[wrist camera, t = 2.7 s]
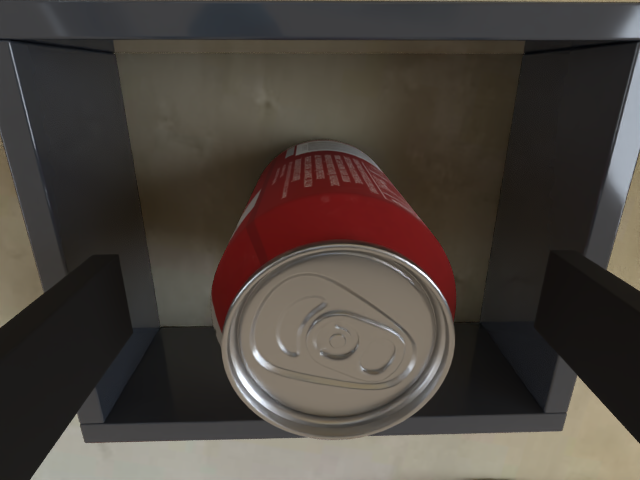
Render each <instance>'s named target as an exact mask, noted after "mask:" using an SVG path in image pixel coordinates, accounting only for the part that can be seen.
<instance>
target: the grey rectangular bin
mask: <svg viewBox="0 0 640 480" xmlns="http://www.w3.org/2000/svg"><path fill="white" fill-rule="evenodd" d="M114 53H373V54H524V55H523V58H522V64H521V70H520V77H519V83H518V89H517V95H516V101H515V107H514V113H513V119H512V126H511V132H510V138H509V144H508V150H507V156H506V162H505V169H504V175H503V181H502V187H501V193H500V199H499V205H498V212H497V218H496V224H495V230H494V236H493V242H492V248H491V255H490V261H489V267H488V273H487V279H486V285H485V291H484V297H483V304H482V310H481V316H480V322H458V323H454V330H455V347H454V354H453V358H452V362H451V365H450V368H449V371H448V373H447V375H446V377H445V379H444V381H443V383H442V384H441V386H440V387H439V389H438V390H437V392H436V393H435V394H434V395H433V397H432V398H431V399H430V400H429V401H428V402H427V403H426V404H425V405H424V406H423V407H422V408H421V409H420V410H418V411H417V412H416V413H415V414H413V415H412V416H411V417H409V418H407V419H406V420H404V421H403V422H401V423H399V424H397V425H395V426H393V427H391V428H389V429H386V430H384V431H381V432H378V433H375V434H372V435H368V436H389V435H430V434H471V433H512V432H553V431H562V430H563V426H564V423H565V419H566V416H567V413H566V412H567V411H568V407H569V404H570V400H571V396H572V393H573V389H574V386H575V382H576V378H577V374H576V373H575V372H574V371H573V370H572V369H571V368H570V367H569V366H568V364H567V363H566V362H565V361H564V360H563V359H562V358H561V357H560V356H559V355H558V354H557V352H556V351H555V350H554V349H553V348H552V347H551V346H550V345H549V344H548V343H547V341H546V340H545V339H544V338H543V337H542V336H541V335H540V334H539V333H538V332H537V331H536V329H535V328H534V323H535V318H536V313H537V309H538V304H539V299H540V295H541V290H542V285H543V281H544V276H545V271H546V266H547V262H548V257H549V252H550V250H575V251H577V252H579V253H580V254H582V255H583V256H585V257H586V258H588V259H590V260H591V261H593V262H594V263H596V264H598V265H599V266H601V267H602V268H604V269H605V270H607V267H608V263H609V260H610V256H611V253H612V249H613V245H614V242H615V238H616V235H617V231H618V227H619V224H620V220H621V217H622V213H623V210H624V206H625V202H626V199H627V195H628V192H629V188H630V184H631V181H632V177H633V174H634V170H635V166H636V163H637V159H638V156H639V152H640V2H508V1H297V0H0V135H1V138H2V142H3V146H4V149H5V153H6V157H7V160H8V164H9V168H10V171H11V175H12V178H13V182H14V186H15V189H16V193H17V197H18V200H19V204H20V208H21V211H22V215H23V218H24V222H25V226H26V229H27V233H28V237H29V240H30V244H31V248H32V251H33V255H34V258H35V262H36V266H37V269H38V273H39V277H40V280H41V284H42V288H43V291H44V293H45V292H46V291H48V290H49V289H50V288H51V287H53V286H54V285H55V284H56V283H58V282H59V281H60V280H61V279H63V278H64V277H65V276H66V275H68V274H69V273H70V272H71V271H73V270H74V269H75V268H76V267H78V266H79V265H80V264H82V263H83V262H84V261H85V260H87V259H88V258H89V257H90V256H92V255H102V254H119V260H120V265H121V270H122V276H123V281H124V286H125V291H126V297H127V302H128V307H129V313H130V318H131V323H132V328H133V334H132V335H131V337H130V338H129V340H128V341H127V342H126V344H125V345H124V347H123V348H122V350H121V351H120V352H119V354H118V355H117V357H116V358H115V359H114V361H113V362H112V364H111V365H110V367H109V368H108V369H107V371H106V372H105V374H104V375H103V377H102V378H101V379H100V381H99V382H98V384H97V385H96V386H95V388H94V389H93V391H92V392H91V394H90V395H89V396H88V398H87V399H86V401H85V402H84V404H83V405H82V406H81V408H80V409H79V411H78V412H77V415H78V418H79V422H80V423H81V424H80V427H81V431H82V435H83V438H84V442H85V443H103V442H144V441H185V440H226V439H267V438H308V437H304V436H300V435H296V434H293V433H290V432H287V431H285V430H282V429H280V428H278V427H276V426H274V425H272V424H270V423H268V422H267V421H265V420H263V419H262V418H261V417H259V416H258V415H256V414H255V413H254V412H253V411H252V410H251V409H250V408H249V407H248V406H247V405H246V404H245V403H244V402H243V401H242V400H241V399H240V397H239V396H238V395H237V393H236V392H235V390H234V388H233V387H232V385H231V383H230V381H229V379H228V377H227V374H226V371H225V368H224V364H223V359H222V350H221V346H220V344H219V342H218V339H217V336H216V333H215V331H214V327H163V328H160V322H159V316H158V309H157V303H156V297H155V291H154V285H153V279H152V273H151V267H150V261H149V255H148V249H147V243H146V237H145V231H144V225H143V219H142V212H141V206H140V200H139V194H138V188H137V182H136V176H135V170H134V164H133V158H132V152H131V146H130V140H129V134H128V128H127V121H126V115H125V109H124V103H123V97H122V91H121V85H120V79H119V73H118V67H117V61H116V55H115V54H114Z"/></svg>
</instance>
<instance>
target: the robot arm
mask: <svg viewBox="0 0 640 480" xmlns="http://www.w3.org/2000/svg"><path fill="white" fill-rule="evenodd" d="M534 328H535V329H536V331H537V332H538V333H539V334H540V335H541V336H542V337H543V338H544V339H545V340H546V341H547V343H548V344H549V345H550V346H551V347H552V348H553V349H554V350H555V351H556V352H557V354H558V355H559V356H560V357H561V358H562V359H563V360H564V361H565V362H566V363H567V364H568V366H569V367H570V368H571V369H572V370H573V371H574V372H575V373H576V374H577V375H578V376H579V378H580V379H581V380H582V381H583V382H584V383H585V384H586V385H587V386H588V387H589V389H590V390H591V391H592V392H593V393H594V394H595V395H596V396H597V397H598V398H599V399H600V401H601V402H602V403H603V404H604V405H605V406H606V407H607V408H608V409H609V410H610V412H611V413H612V414H613V415H614V416H615V417H616V418H617V419H618V420H619V421H620V422H621V424H622V425H623V426H624V427H625V428H626V429H627V430H628V431H629V432H630V433H631V435H632V436H633V437H634V438H635V439H636V440H637V441H638V442H639V443H640V291H639V290H637V289H635V288H634V287H632V286H631V285H629V284H628V283H626V282H624V281H623V280H621V279H620V278H618V277H616V276H615V275H613V274H612V273H610V272H609V271H607V270H605V269H604V268H602V267H601V266H599V265H598V264H596V263H594V262H593V261H591V260H590V259H588V258H586V257H585V256H583V255H582V254H580V253H579V252H577V251H575V250H550V252H549V257H548V262H547V266H546V271H545V276H544V281H543V285H542V290H541V295H540V299H539V304H538V309H537V313H536V318H535V323H534ZM132 334H133V328H132V323H131V318H130V313H129V307H128V302H127V297H126V291H125V286H124V281H123V276H122V270H121V265H120V260H119V254H102V255H92V256H90V257H89V258H88V259H87V260H85V261H84V262H83V263H82V264H80V265H79V266H78V267H76V268H75V269H74V270H73V271H71V272H70V273H69V274H68V275H66V276H65V277H64V278H63V279H61V280H60V281H59V282H58V283H56V284H55V285H54V286H53V287H51V288H50V289H49V290H48V291H46V292H45V293H44V294H43V295H41V296H40V297H39V298H37V299H36V300H35V301H34V302H32V303H31V304H30V305H29V306H27V307H26V308H25V309H24V310H22V311H21V312H20V313H19V314H17V315H16V316H15V317H14V318H12V319H11V320H10V321H9V322H7V323H6V324H5V325H4V326H2V327H1V328H0V480H30V479H31V477H32V476H33V475H34V473H35V472H36V470H37V469H38V468H39V466H40V465H41V463H42V462H43V460H44V459H45V458H46V456H47V455H48V453H49V452H50V450H51V449H52V448H53V446H54V445H55V443H56V442H57V441H58V439H59V438H60V436H61V435H62V433H63V432H64V431H65V429H66V428H67V426H68V425H69V423H70V422H71V421H72V419H73V418H74V416H75V415H76V414H77V412H78V411H79V409H80V408H81V406H82V405H83V404H84V402H85V401H86V399H87V398H88V396H89V395H90V394H91V392H92V391H93V389H94V388H95V386H96V385H97V384H98V382H99V381H100V379H101V378H102V377H103V375H104V374H105V372H106V371H107V369H108V368H109V367H110V365H111V364H112V362H113V361H114V359H115V358H116V357H117V355H118V354H119V352H120V351H121V350H122V348H123V347H124V345H125V344H126V342H127V341H128V340H129V338H130V337H131V335H132Z"/></svg>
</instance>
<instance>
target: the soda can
mask: <svg viewBox="0 0 640 480" xmlns="http://www.w3.org/2000/svg"><path fill="white" fill-rule="evenodd" d="M455 309H456V286H455V280H454V275H453V271H452V268H451V265H450V262H449V260H448V258H447V256H446V254H445V252H444V250H443V248H442V247H441V245H440V243H439V242H438V240H437V239H436V238H435V236H434V235H433V234H432V232H431V231H430V230H429V229H428V228H427V226H426V225H425V224H424V223H423V221H422V220H421V219H420V218H419V216H418V215H417V214H416V213H415V211H414V210H413V209H412V208H411V206H410V205H409V204H408V203H407V201H406V200H405V199H404V198H403V196H402V195H401V194H400V193H399V191H398V190H397V189H396V188H395V186H394V185H393V184H392V183H391V182H390V180H389V179H388V178H387V177H386V175H385V174H384V173H383V172H382V170H381V169H380V168H379V167H378V165H377V164H376V163H375V162H374V161H373V160H372V159H371V158H370V157H369V156H368V155H367V154H365V153H364V152H362V151H361V150H359V149H358V148H356V147H354V146H352V145H349V144H347V143H343V142H340V141H335V140H326V139H321V140H311V141H306V142H302V143H299V144H296V145H294V146H292V147H290V148H288V149H286V150H284V151H283V152H282V153H280V154H279V155H278V156H276V157H275V158H274V159H273V160H272V161H271V162H270V163H269V164H268V166H267V167H266V168H265V169H264V171H263V173H262V174H261V176H260V178H259V180H258V182H257V184H256V186H255V188H254V191H253V193H252V195H251V197H250V199H249V201H248V203H247V205H246V207H245V210H244V212H243V214H242V216H241V218H240V220H239V222H238V224H237V226H236V229H235V231H234V233H233V235H232V237H231V239H230V241H229V243H228V245H227V248H226V250H225V252H224V254H223V256H222V258H221V260H220V262H219V265H218V268H217V270H216V273H215V276H214V281H213V285H212V292H211V315H212V322H213V326H214V331H215V333H216V336H217V339H218V342H219V344H220V346H221V350H222V359H223V364H224V368H225V371H226V374H227V377H228V379H229V381H230V383H231V385H232V387H233V388H234V390H235V392H236V393H237V395H238V396H239V397H240V399H241V400H242V401H243V402H244V403H245V404H246V405H247V406H248V407H249V408H250V409H251V410H252V411H253V412H254V413H255V414H256V415H258V416H259V417H261V418H262V419H263V420H265V421H267V422H268V423H270V424H272V425H274V426H276V427H278V428H280V429H282V430H285V431H287V432H290V433H293V434H296V435H300V436H304V437H309V438H315V439H324V440H344V439H353V438H359V437H364V436H368V435H372V434H375V433H378V432H381V431H384V430H386V429H389V428H391V427H393V426H395V425H397V424H399V423H401V422H403V421H404V420H406V419H407V418H409V417H411V416H412V415H413V414H415V413H416V412H417V411H418V410H420V409H421V408H422V407H423V406H424V405H425V404H426V403H427V402H428V401H429V400H430V399H431V398H432V397H433V395H434V394H435V393H436V392H437V390H438V389H439V387H440V386H441V384H442V383H443V381H444V379H445V377H446V375H447V373H448V371H449V368H450V365H451V362H452V358H453V354H454V347H455V330H454V323H453V321H454V317H455Z"/></svg>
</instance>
